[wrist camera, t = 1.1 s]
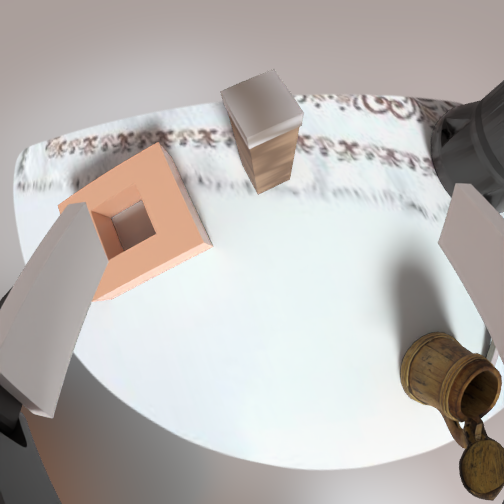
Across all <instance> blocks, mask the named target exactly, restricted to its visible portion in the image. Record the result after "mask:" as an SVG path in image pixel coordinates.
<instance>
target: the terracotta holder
mask: <svg viewBox="0 0 504 504" xmlns="http://www.w3.org/2000/svg"><path fill="white" fill-rule="evenodd" d="M140 200H142V201H143V204H144V206H145V209H146V211H147V213H148V216H149V218H150V221H151V223H152V225H153V228H154V230H155V232H156V234H155V235H153V236H151V237H149V238H147V239H146V240H144V241H142V242H140V243H138V244H137V245H135V246H133V247H131V248H129V249H128V250H126V251H123V248H122V246H121V243H120V241H119V238H118V235H117V233H116V230H115V228H114V225H113V222H112V220H111V218H112V217H113V216H115V215H117V214H118V213H120V212H122V211H123V210H125V209H127V208H128V207H130V206H132V205H133V204H135V203H137V202H139V201H140ZM81 202H86V205H87V208H88V210H89V213H90V216H91V219H92V221H93V224H94V226H95V229H96V232H97V234H98V237H99V239H100V242H101V244H102V247H103V249H104V252H105V254H106V256H107V259H108V261H109V262H108V264H107V266H106V269H105V271H104V273H103V276H102V278H101V280H100V283H99V285H98V287H97V290H96V292H95V295H94V297H93V300H92V302H96V301H103V300H110V299H113V298H115V297H117V296H119V295H121V294H123V293H125V292H127V291H129V290H130V289H132V288H134V287H136V286H138V285H140V284H142V283H144V282H146V281H148V280H150V279H151V278H153V277H155V276H157V275H159V274H161V273H163V272H165V271H167V270H169V269H171V268H173V267H175V266H177V265H179V264H180V263H182V262H184V261H186V260H188V259H190V258H192V257H194V256H196V255H198V254H200V253H202V252H204V251H206V250H208V249H210V248H212V247H213V245H212V243H211V241H210V239H209V237H208V235H207V233H206V231H205V228H204V226H203V224H202V222H201V220H200V218H199V216H198V214H197V211H196V209H195V207H194V205H193V203H192V201H191V199H190V196H189V194H188V192H187V190H186V188H185V186H184V183H183V181H182V179H181V177H180V175H179V172H178V170H177V168H176V166H175V164H174V161H173V159H172V157H171V156H170V155H169V154H168V153H167V151H166V150H165V149H164V148H163V147H162V146H161V144H160V143H159V142H157V143H155V144H153V145H152V146H150V147H148V148H146V149H145V150H143V151H141V152H139V153H138V154H136V155H134V156H133V157H131V158H129V159H128V160H126V161H124V162H123V163H121V164H119V165H118V166H116V167H114V168H113V169H111V170H110V171H108V172H106V173H105V174H103V175H102V176H100V177H99V178H97V179H96V180H94V181H92V182H91V183H89V184H88V185H86V186H85V187H83V188H82V189H80V190H79V191H78V192H76V193H75V194H73V195H72V196H70V197H69V198H67V199H66V200H65V201H63V202H62V203H60V204H59V205H58V208H59V211H60V215H61V213H62V212H63V211H64V209H65V208H66V207H67V205H68V204H74V203H81Z"/></svg>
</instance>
